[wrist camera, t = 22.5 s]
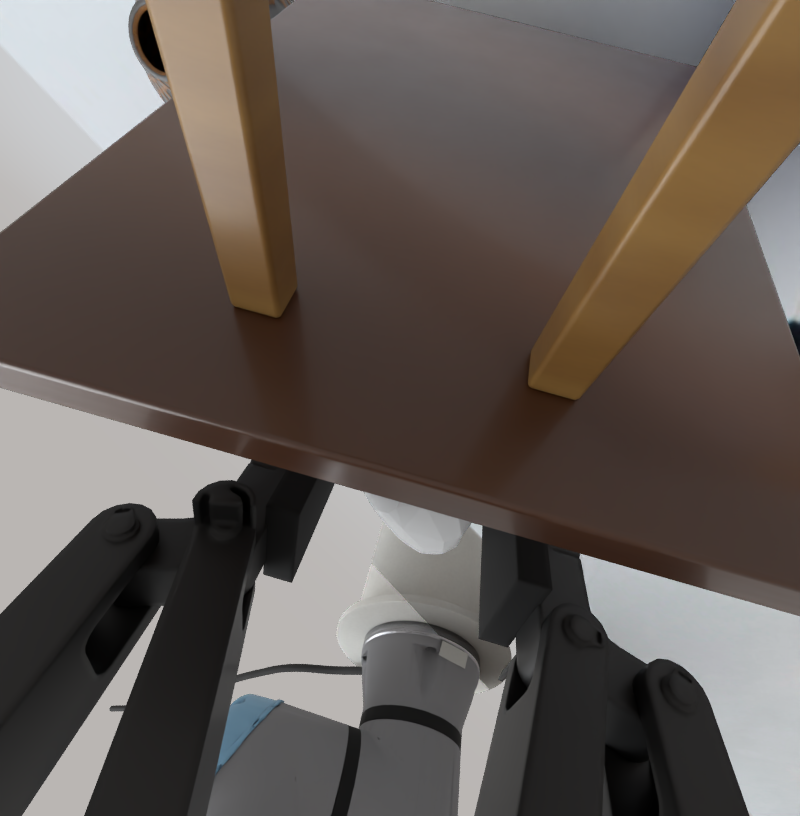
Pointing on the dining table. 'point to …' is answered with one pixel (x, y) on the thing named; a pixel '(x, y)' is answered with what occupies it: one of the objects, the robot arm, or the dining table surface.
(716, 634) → the dining table surface
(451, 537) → the grey rounded piece
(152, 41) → the vase
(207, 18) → the lid
